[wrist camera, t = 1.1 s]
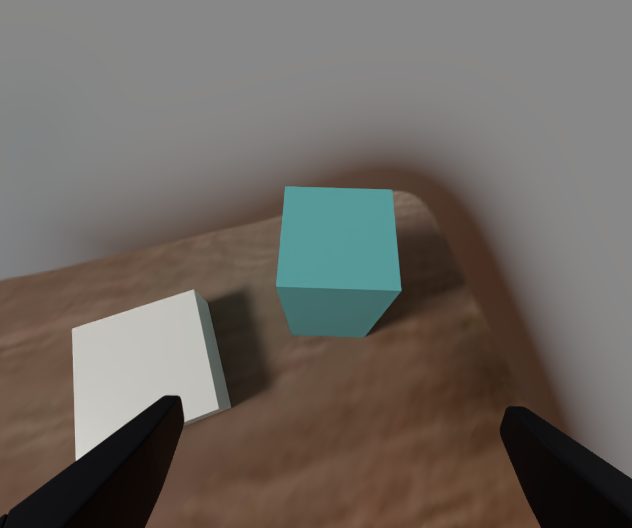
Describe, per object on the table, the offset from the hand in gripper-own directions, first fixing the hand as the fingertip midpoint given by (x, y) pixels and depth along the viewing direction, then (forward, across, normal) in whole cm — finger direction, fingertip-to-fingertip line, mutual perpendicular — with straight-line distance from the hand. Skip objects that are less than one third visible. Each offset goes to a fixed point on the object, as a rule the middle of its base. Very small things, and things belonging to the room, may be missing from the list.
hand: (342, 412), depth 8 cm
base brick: (+11, +12, +8) cm, 18 cm away
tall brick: (+15, 0, +4) cm, 16 cm away
